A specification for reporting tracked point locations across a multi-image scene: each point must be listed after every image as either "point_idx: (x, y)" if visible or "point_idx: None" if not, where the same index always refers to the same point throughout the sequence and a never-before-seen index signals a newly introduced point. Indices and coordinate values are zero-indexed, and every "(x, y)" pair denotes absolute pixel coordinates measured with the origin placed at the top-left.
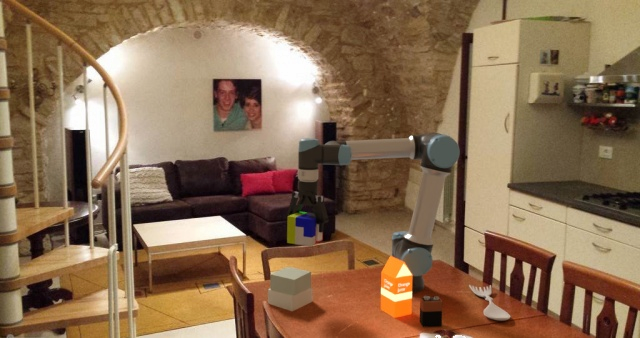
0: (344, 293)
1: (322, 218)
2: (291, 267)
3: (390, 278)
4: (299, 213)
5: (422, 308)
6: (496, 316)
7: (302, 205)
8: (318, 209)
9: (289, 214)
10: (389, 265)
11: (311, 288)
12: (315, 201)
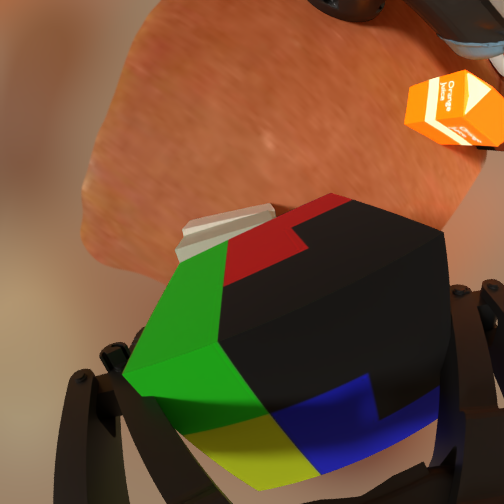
0: (282, 102)
1: (489, 345)
2: (190, 245)
3: (483, 137)
4: (218, 426)
5: (498, 149)
6: (497, 60)
7: (217, 487)
8: (486, 382)
9: (119, 416)
10: (488, 111)
11: (275, 214)
12: (494, 471)
